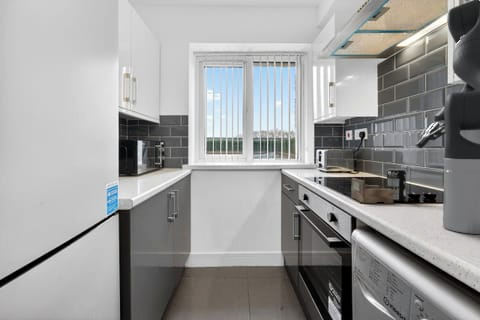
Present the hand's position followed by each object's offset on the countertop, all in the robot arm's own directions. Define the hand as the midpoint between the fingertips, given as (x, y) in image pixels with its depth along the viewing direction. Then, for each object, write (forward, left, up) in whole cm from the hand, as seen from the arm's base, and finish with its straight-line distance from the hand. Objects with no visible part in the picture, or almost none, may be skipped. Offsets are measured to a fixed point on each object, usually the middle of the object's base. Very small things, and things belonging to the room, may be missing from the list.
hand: (418, 146), depth 115 cm
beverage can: (+6, +5, -21) cm, 22 cm away
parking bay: (+14, +10, -20) cm, 27 cm away
